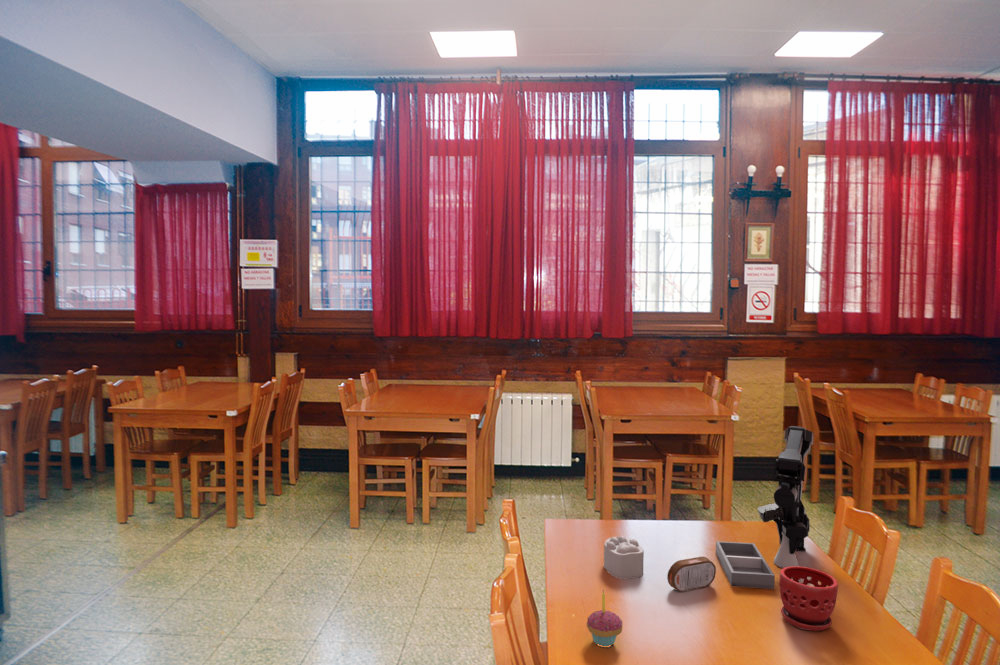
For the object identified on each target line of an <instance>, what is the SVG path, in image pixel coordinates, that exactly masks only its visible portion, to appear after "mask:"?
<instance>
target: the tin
mask: <svg viewBox="0 0 1000 665" xmlns="http://www.w3.org/2000/svg"><path fill="white" fill-rule="evenodd" d="M716 573H717V568H716V565H715V563H714V562H713V561H712V560H710V558H708V557H706V556H697V557H691V558H685V559H680V560H679V559H678V560H677V561H675V562H674V563H673V564H672V565H671V566H670V568H669V569H668V572H667V577H666V578H667V583H668V585H669V586H670V587H671V588H673V589H674V590H676V591H677V592H680V593H682V592H689V591H694V590H699V589H704V588H707V587H709V586H711V585H712V583H713V582H714V581H715V578H716Z"/></svg>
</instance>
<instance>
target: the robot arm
mask: <svg viewBox="0 0 1000 665" xmlns="http://www.w3.org/2000/svg"><path fill="white" fill-rule="evenodd" d="M814 438H815V437H814V432H813V431H811V430H809V429H806V428H805V427H803V426H794V425H791V426H788V427H787V428H785V429H784V439H783V440H784V441H785V443H786V445H785V449H784V451H781V452H779V454H778V458H776V459H775V462H774V470H773V471H774V473H773V479H772V480H773V481H774V482H778V486H777V487H776V490H775V491H774V493H773V500H774V503H769V504H766V505H761V506H758V507H757V512H758V515H759V517H760V519H761V521H762V522H763V523H768V522H770V521H773V522H774V523H775V525H776V527H777V528H776V530H777V532H778V538H779V540H778V541H779V544H780V545H781V543H782V538H783V535H782V531H783V533H784V535H785V536H786V537H787V539H788V547H789V553H790V554H794V553H795V554H796V552H798V551H800V552H806V550H807V549H806V547H805V539H806V538H807V537H809V533H810V532H811V531H810V518H809V515H808V514H807V513H806V511H807V510H806V508H805V506H804V503H803V502H802V494H803V493H802V492H803V482H805V476H806V466H805V460H806V459H805V458H806V456H807V455H808V454H809V452H811V449H812V448H811V447H812V445H814Z"/></svg>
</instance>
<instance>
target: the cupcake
mask: <svg viewBox="0 0 1000 665" xmlns="http://www.w3.org/2000/svg"><path fill="white" fill-rule="evenodd" d="M601 602H602V604H601V607H602V609H600V610H596V611H593V612H592V613H591V614H590V615H589V616H588V617H587V621H586V627H587V628H586V629H587V630H588V632H590V634H591V636H592V639H593V643H594V642H595V643H596V644H599V645H602V646H609V645H612V644H615V642H616V638H617V636H619V635H620V634H621V633H622V632H623V620H621V618H620V617H619V615H617V614H616V613H614V612H612V611H610V610H606V594H605V592H604V589H602V593H601ZM595 643H594V644H595ZM596 644H595V645H596Z"/></svg>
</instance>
